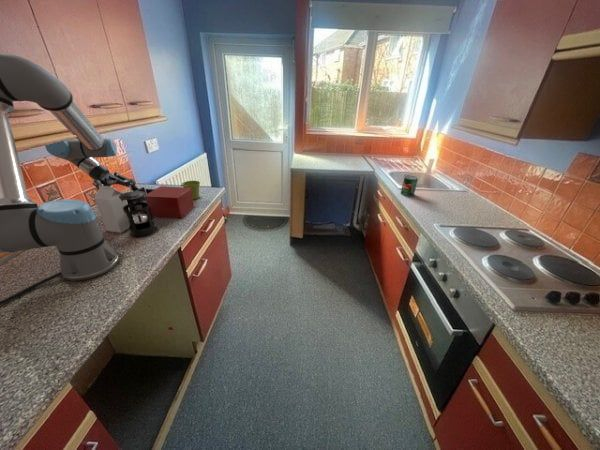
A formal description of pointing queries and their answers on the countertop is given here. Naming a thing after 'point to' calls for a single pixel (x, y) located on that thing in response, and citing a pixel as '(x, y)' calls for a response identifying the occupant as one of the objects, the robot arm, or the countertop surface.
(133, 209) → the black drawer
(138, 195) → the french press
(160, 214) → the red drawer cabinet
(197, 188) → the plant pot
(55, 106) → the robot arm
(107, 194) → the milk carton
